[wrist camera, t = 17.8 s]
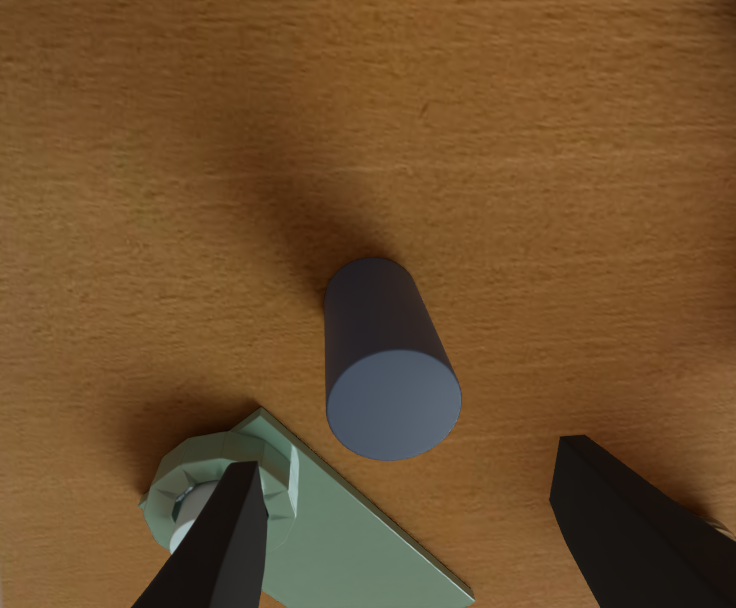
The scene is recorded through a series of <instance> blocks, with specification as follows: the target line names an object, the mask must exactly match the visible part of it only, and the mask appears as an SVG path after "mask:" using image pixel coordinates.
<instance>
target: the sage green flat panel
mask: <svg viewBox="0 0 736 608" xmlns="http://www.w3.org/2000/svg"><path fill="white" fill-rule="evenodd" d="M246 461H258V465H259V472H260V478H261V485H262V491H263V498H264V504H265V511H266V517H267V524H268V527H267V544H266V558H265V571H264V577H263V583H262V589H261V590H262V591H264V592H265V593H267V594H268V595H270V596H271V597H273V598H274V599H275V600H277V601H278V602H280V603H281V604H283V605H284V606H286V607H287V608H465V607H467V606H469V605H471V604H472V603H474V602H475V597H474V594H473V591H472V590H471V589H470V588H469V587H468V586H466V585H465V584H464V583H463V582H462V581H461V580H460V579H458V578H457V577H456V576H455V575H454V574H453V573H452V572H450V571H449V570H448V569H447V568H446V567H445V566H444V565H442V564H441V563H440V562H439V561H438V560H437V559H435V558H434V557H433V556H432V555H431V554H430V553H429V552H427V551H426V550H425V549H424V548H423V547H422V546H421V545H419V544H418V543H417V542H416V541H415V540H414V539H413V538H411V537H410V536H409V535H408V534H407V533H406V532H405V531H403V530H402V529H401V528H400V527H399V526H398V525H396V524H395V523H394V522H393V521H392V520H391V519H390V518H388V517H387V516H386V515H385V514H384V513H383V512H382V511H380V510H379V509H378V508H377V507H376V506H375V505H374V504H372V503H371V502H370V501H369V500H368V499H367V498H366V497H364V496H363V495H362V494H361V493H360V492H359V491H357V490H356V489H355V488H354V487H353V486H352V485H351V484H349V483H348V482H347V481H346V480H345V479H344V478H343V477H341V476H340V475H339V474H338V473H337V472H336V471H335V470H333V469H332V468H331V467H330V466H329V465H328V464H327V463H325V462H324V461H323V460H322V459H321V458H320V457H318V456H317V455H316V454H315V453H314V452H313V451H312V450H310V449H309V448H308V447H307V446H306V445H305V444H304V443H302V442H301V441H300V440H299V439H298V438H297V437H296V436H294V435H293V434H292V433H291V432H290V431H289V430H288V429H286V428H285V427H284V426H283V425H282V424H281V423H280V422H278V421H277V420H276V419H275V418H274V417H273V416H271V415H270V414H269V413H268V412H267V411H266V410H265V409H263V408H262V407H260V408H259V409H258V410H256V411H255V412H254V413H252V414H251V415H250V416H248V417H247V418H245V419H244V420H243V421H241V422H240V423H239V424H237V425H236V426H235V427H233V428H232V429H231V430H229V431H224V432H219V433H213V434H207V435H201V436H196V437H191V438H188V439H186V440H185V441H184V442H182V443H181V444H180V445H178V446H177V447H176V448H174V449H173V450H172V451H171V452H169V453H168V454H167V455H165V456H164V457H163V458H162V460H161V462H160V464H159V467H158V469H157V472H156V474H155V477H154V479H153V481H152V484H151V486H150V490H149V491H148V492H147V493H145V494H144V495H143V496H142V497H141V500H140V502H139V504H138V507H139V508H141V509H142V510H144V511H143V516H144V518H145V520H146V523H147V525H148V527H149V529H150V531H151V533H152V535H153V537H154V539H155V541H156V542H157V543H158V544H159V545H161V546H162V547H164V548H165V549H167V550H169V551H170V548H169V542H170V538H171V535H172V531H173V528H174V525H175V522H176V519H177V516H178V513H179V510H180V507H181V504H182V501H183V499H184V497H185V496H186V494H187V493H188V492H189V491H190V490H192V489H193V488H194V487H196V486H198V485H200V484H202V483H205V482H209V481H215V480H220V479H221V477H222V475H223V473H224V471H225V470H226V468H227V466H228V465H229V464H230V463H233V462H246Z"/></svg>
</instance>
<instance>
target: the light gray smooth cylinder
mask: <svg viewBox="0 0 736 608" xmlns="http://www.w3.org/2000/svg"><path fill="white" fill-rule="evenodd" d="M218 482H219V480H215V481H209V482H205V483H202V484H200V485H198V486H196V487H194V488H193V489H192V490H190V491H189V492H188V493H187V494H186V496H185V497H184V499H183V501H182V504H181V507H180V510H179V513H178V516H177V519H176V522H175V525H174V528H173V531H172V535H171V538H170V542H169V548H170V552H171V555H172V553H173V552H174V551H175V549H176V548H177V547H178V545H179V544H180V542H181V541H182V539H183V538H184V536H185V535H186V533H187V532H188V530H189V529H190V527H191V526H192V524H193V523H194V521H195V520H196V518H197V517H198V515H199V514H200V512H201V511H202V509H203V507H204V506H205V504H206V502H207V501H208V499H209V498H210V496H211V494H212V493H213V491H214V489H215V487H216V486H217V484H218Z"/></svg>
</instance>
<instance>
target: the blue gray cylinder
mask: <svg viewBox="0 0 736 608" xmlns="http://www.w3.org/2000/svg"><path fill="white" fill-rule="evenodd" d="M324 318H325V386H326V416H327V421H328V424H329V427H330V429H331V430H332V432H333V434H334V435H335V437H336V438H337V439H338V440H339V441H340V442H341V443H342V444H343V445H344V446H345V447H346V448H348V449H349V450H351V451H352V452H354V453H356V454H358V455H361V456H363V457H366V458H370V459H375V460H383V461H395V460H403V459H407V458H411V457H414V456H417V455H420V454H422V453H424V452H426V451H428V450H430V449H432V448H433V447H435V446H436V445H437V444H439V443H440V442H441V441H442V440H443V439H444V438H445V437H446V436H447V435H448V434H449V433H450V431H451V430H452V428H453V427H454V425H455V424H456V421H457V419H458V417H459V414H460V410H461V404H462V394H461V388H460V385H459V382H458V379H457V377H456V375H455V373H454V370H453V368H452V366H451V364H450V361H449V359H448V357H447V355H446V352H445V350H444V348H443V345H442V343H441V341H440V339H439V336H438V334H437V332H436V330H435V327H434V325H433V323H432V321H431V318H430V316H429V314H428V312H427V309H426V307H425V305H424V303H423V300H422V298H421V296H420V294H419V291H418V289H417V287H416V285H415V282H414V281H413V279H412V277H411V276H410V274H409V273H408V272H407V271H406V270H405V269H404V268H403V267H401V266H400V265H398V264H396V263H395V262H392V261H390V260H387V259H383V258H363V259H359V260H356V261H354V262H351V263H349V264H347V265H346V266H344V267H343V268H341V269H340V270H339V271H338V272H337V273H336V274H335V275H334V276H333V278H332V279H331V281H330V282H329V284H328V287H327V289H326V293H325V298H324Z"/></svg>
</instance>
